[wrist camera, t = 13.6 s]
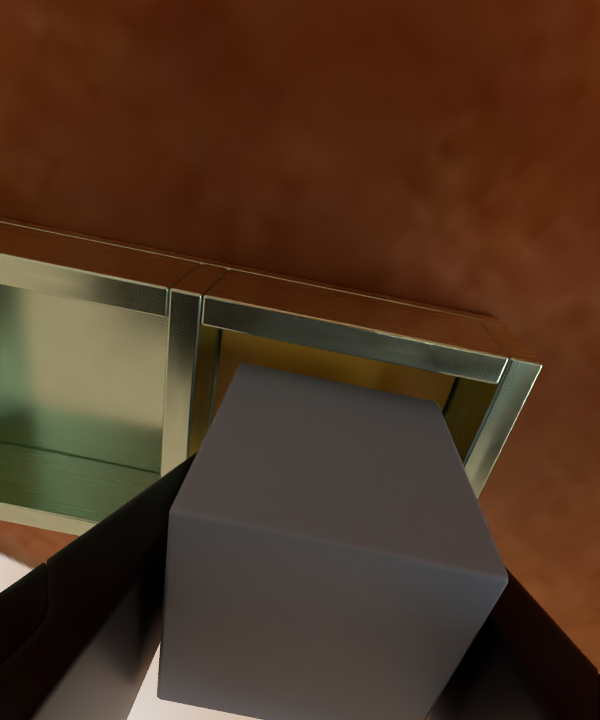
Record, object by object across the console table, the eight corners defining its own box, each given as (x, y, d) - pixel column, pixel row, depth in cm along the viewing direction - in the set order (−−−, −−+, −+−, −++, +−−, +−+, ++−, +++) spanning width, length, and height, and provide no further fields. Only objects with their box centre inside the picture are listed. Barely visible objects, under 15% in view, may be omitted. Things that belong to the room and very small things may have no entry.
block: (438, 400, 8) (513, 581, 5) (384, 541, 10) (409, 751, 7) (240, 360, 8) (167, 511, 5) (220, 508, 10) (154, 700, 7)
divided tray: (498, 317, 10) (545, 364, 7) (410, 528, 12) (426, 606, 10) (-61, 203, 10) (-179, 217, 7) (-18, 442, 12) (-93, 502, 10)
